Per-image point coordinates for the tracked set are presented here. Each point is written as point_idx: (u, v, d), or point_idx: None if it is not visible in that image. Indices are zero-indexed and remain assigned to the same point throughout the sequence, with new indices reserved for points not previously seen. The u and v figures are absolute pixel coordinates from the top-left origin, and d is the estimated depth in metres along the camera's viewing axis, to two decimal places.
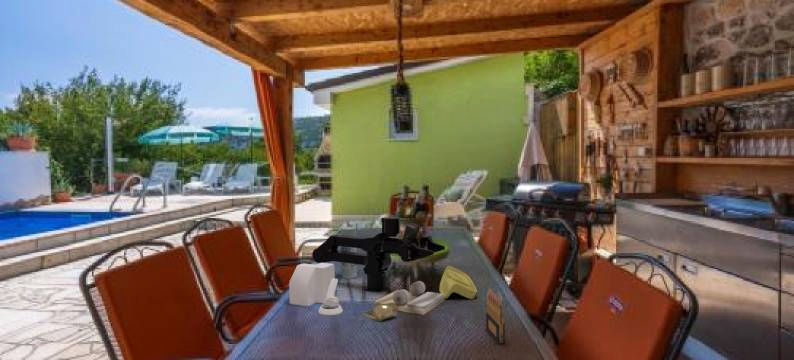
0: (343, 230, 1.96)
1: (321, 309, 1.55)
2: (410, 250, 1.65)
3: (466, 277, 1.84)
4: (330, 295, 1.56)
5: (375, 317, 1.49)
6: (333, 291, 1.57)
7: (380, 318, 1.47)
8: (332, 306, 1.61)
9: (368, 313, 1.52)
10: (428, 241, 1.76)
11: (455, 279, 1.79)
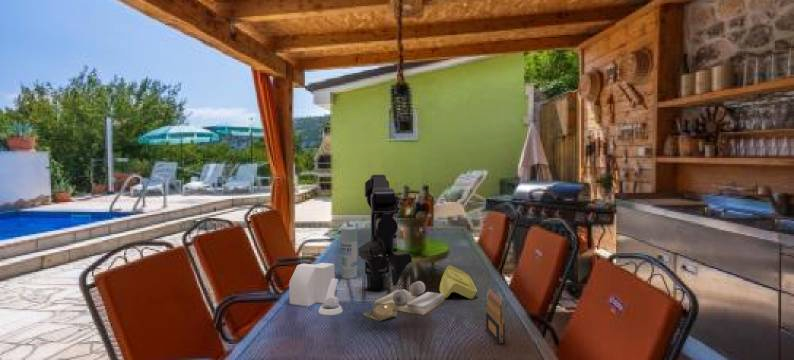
0: (344, 230, 1.96)
1: (321, 309, 1.55)
2: None
3: (466, 277, 1.84)
4: (330, 295, 1.56)
5: (375, 317, 1.49)
6: (333, 291, 1.57)
7: (380, 318, 1.47)
8: (332, 306, 1.61)
9: (368, 313, 1.52)
10: None
11: (455, 279, 1.79)
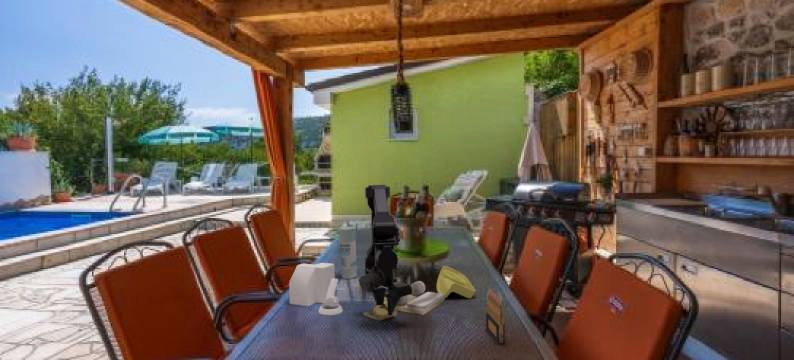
0: (342, 230, 1.96)
1: (321, 309, 1.55)
2: None
3: (462, 276, 1.85)
4: (330, 295, 1.56)
5: (375, 317, 1.49)
6: (333, 291, 1.57)
7: (380, 318, 1.47)
8: (332, 306, 1.61)
9: (368, 313, 1.52)
10: None
11: (452, 279, 1.79)
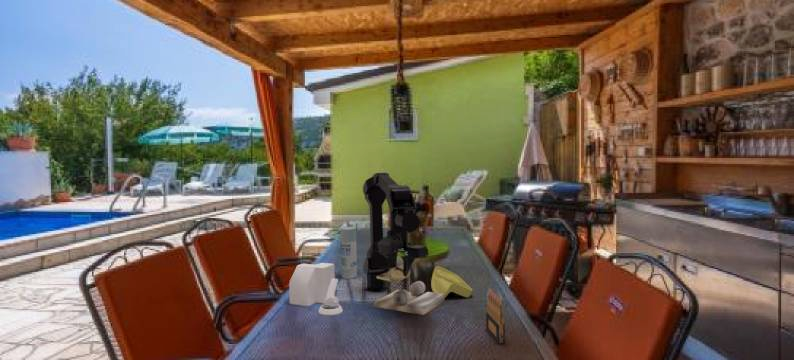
0: (343, 230, 1.96)
1: (321, 309, 1.55)
2: None
3: (455, 276, 1.85)
4: (330, 295, 1.56)
5: (391, 278, 1.56)
6: (333, 291, 1.57)
7: (397, 279, 1.55)
8: (332, 306, 1.61)
9: (382, 276, 1.59)
10: None
11: (447, 279, 1.79)
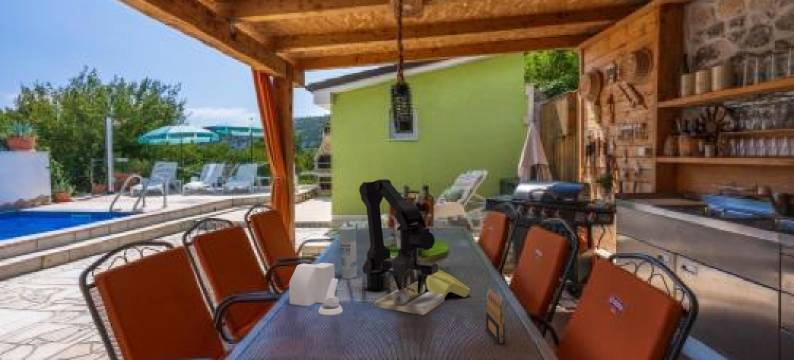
0: (342, 230, 1.96)
1: (321, 309, 1.55)
2: None
3: (448, 276, 1.86)
4: (330, 295, 1.56)
5: None
6: (333, 291, 1.57)
7: (409, 299, 1.61)
8: (332, 306, 1.61)
9: (392, 296, 1.64)
10: None
11: (442, 279, 1.79)
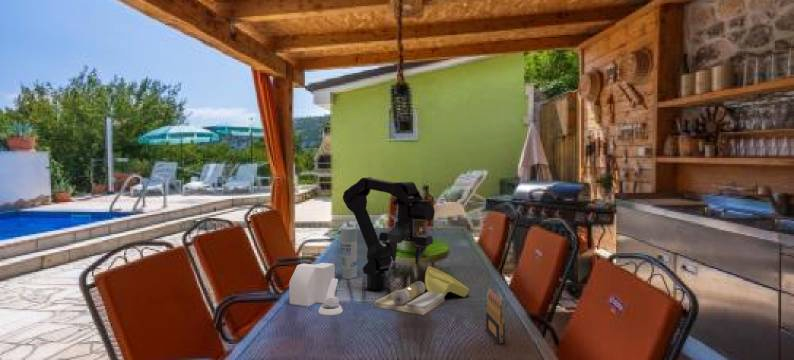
0: (343, 230, 1.96)
1: (321, 309, 1.55)
2: None
3: (447, 276, 1.86)
4: (330, 295, 1.56)
5: None
6: (333, 291, 1.57)
7: (409, 299, 1.61)
8: (332, 306, 1.61)
9: (392, 296, 1.64)
10: None
11: (441, 279, 1.79)
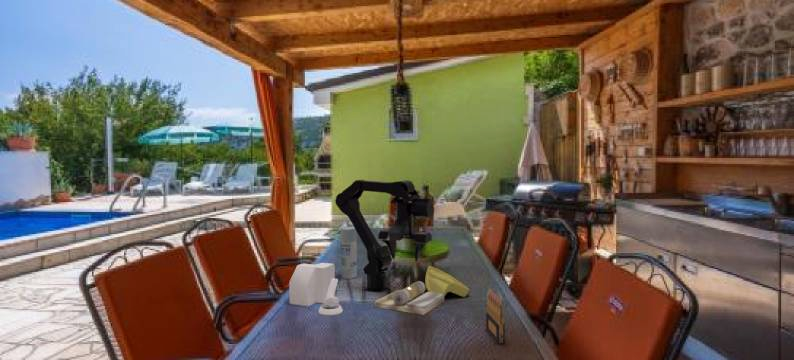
0: (343, 230, 1.96)
1: (321, 309, 1.55)
2: None
3: (447, 276, 1.86)
4: (330, 295, 1.56)
5: None
6: (333, 291, 1.57)
7: (409, 299, 1.61)
8: (332, 306, 1.61)
9: (392, 296, 1.64)
10: None
11: (441, 279, 1.80)
